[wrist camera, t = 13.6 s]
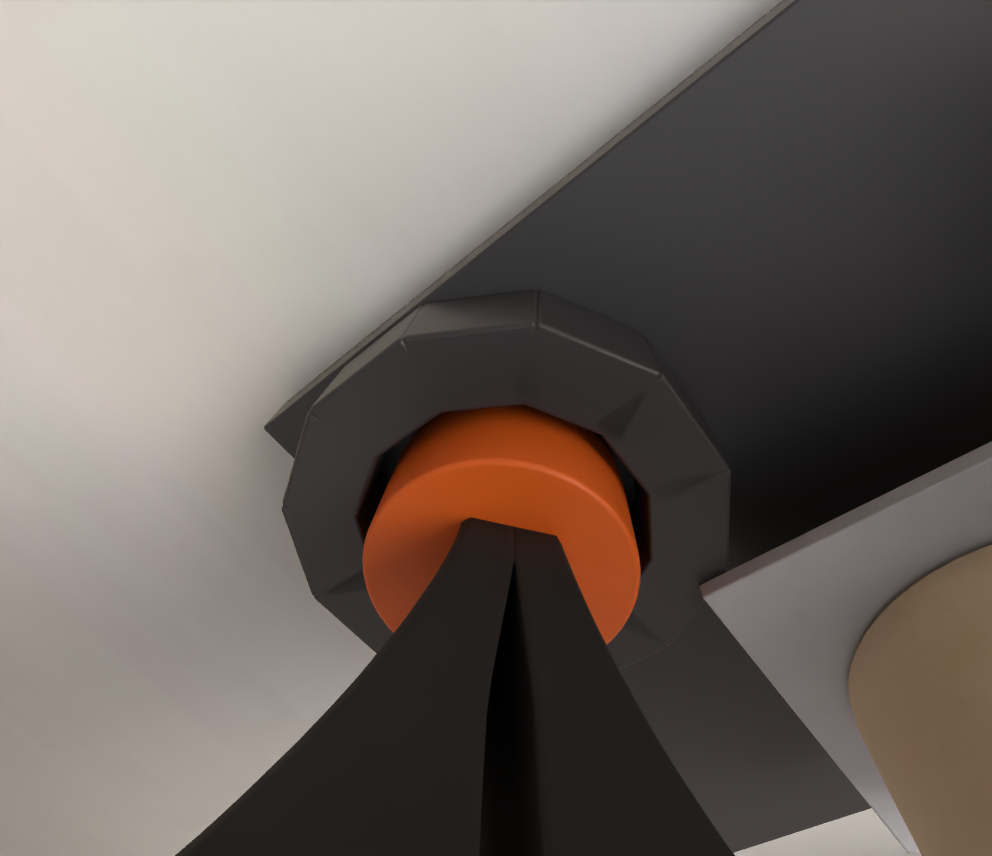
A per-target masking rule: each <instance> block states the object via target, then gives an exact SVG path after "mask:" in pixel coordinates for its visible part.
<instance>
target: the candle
mask: <svg viewBox="0 0 992 856" xmlns="http://www.w3.org/2000/svg"><path fill="white" fill-rule="evenodd" d="M848 696H849V700H850V704H851V708H852V712H853V715H854V718H855V721H856V725H857V728H858V730H859V732H860V734H861V736H862V738H863V740H864V742H865V744H866V746H867V748H868V750H869V752H870V754H871V756H872V758H873V760H874V763H875V765H876V767H877V769H878V771H879V773H880V775H881V777H882V779H883V781H884V783H885V785H886V787H887V789H888V791H889V793H890V795H891V797H892V799H893V801H894V802H895V804H896V806H897V808H898V810H899V812H900V814H901V816H902V818H903V820H904V822H905V824H906V826H907V828H908V830H909V832H910V833H911V835H912V837H913V839H914V841H915V843H916V845H917V847H918V849H919V851H920V853H921V855H922V856H992V545H989V546H986V547H983V548H981V549H978V550H976V551H974V552H971V553H969V554H967V555H965V556H962V557H960V558H958V559H956V560H954V561H952V562H950V563H948V564H946V565H945V566H943V567H941V568H939V569H937V570H935V571H934V572H932V573H930V574H929V575H927V576H926V577H924V578H923V579H921V580H920V581H919V582H917V583H916V584H914V585H913V586H911V587H910V588H909V589H907V590H906V591H905V592H904V593H903V594H901V595H900V596H899V597H898V598H897V599H895V600H894V601H893V602H892V603H891V604H890V605H889V606H888V607H887V608H886V609H885V610H884V611H883V612H882V613H881V614H880V615H879V616H878V617H877V619H876V620H875V621H874V623H873V624H872V625H871V627H870V628H869V629H868V631H867V632H866V633H865V635H864V637H863V639H862V641H861V642H860V644H859V646H858V648H857V650H856V652H855V655H854V658H853V661H852V663H851V666H850V672H849V678H848Z"/></svg>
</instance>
